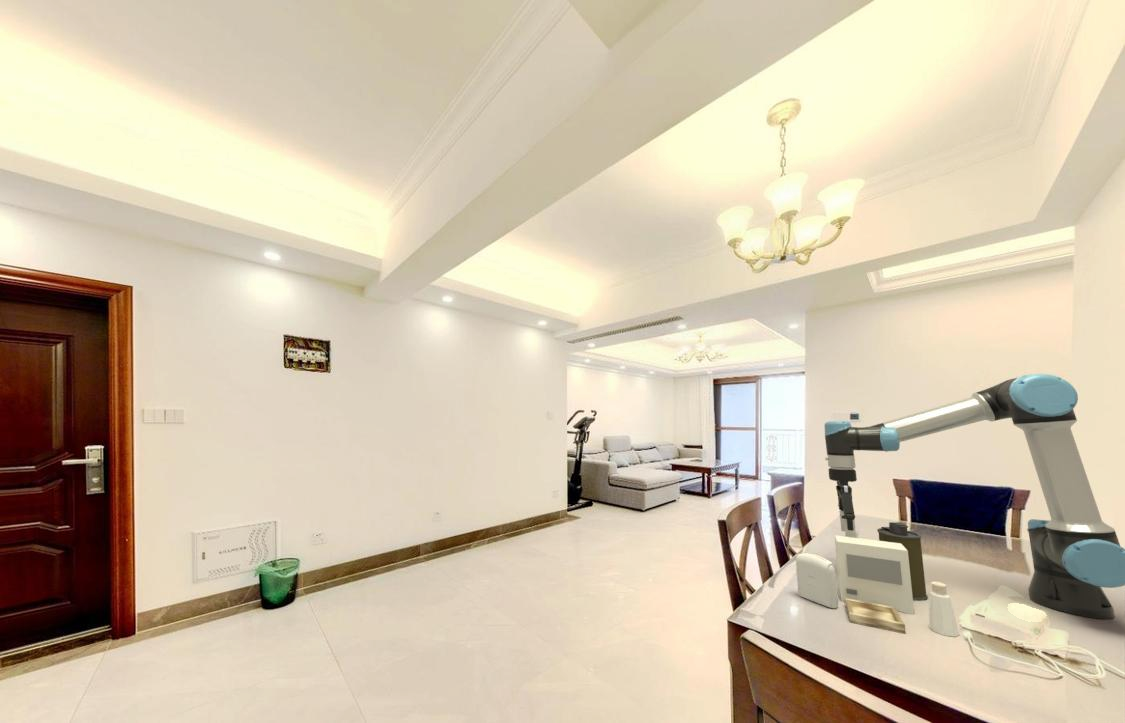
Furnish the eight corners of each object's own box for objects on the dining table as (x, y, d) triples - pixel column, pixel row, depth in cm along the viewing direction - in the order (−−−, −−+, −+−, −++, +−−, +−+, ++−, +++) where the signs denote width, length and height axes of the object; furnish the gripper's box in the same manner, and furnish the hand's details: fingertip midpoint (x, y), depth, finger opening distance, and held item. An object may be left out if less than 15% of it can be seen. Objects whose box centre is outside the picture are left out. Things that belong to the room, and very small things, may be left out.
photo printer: (795, 595, 119) (792, 550, 121) (805, 593, 121) (802, 549, 123) (831, 610, 110) (828, 561, 112) (841, 607, 112) (837, 559, 114)
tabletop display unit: (906, 602, 116) (900, 543, 118) (914, 615, 108) (908, 551, 110) (838, 590, 123) (834, 534, 126) (842, 601, 116) (837, 541, 118)
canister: (937, 601, 117) (929, 528, 120) (900, 600, 117) (893, 527, 120) (906, 586, 128) (900, 519, 131) (873, 585, 128) (867, 518, 131)
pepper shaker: (960, 639, 96) (954, 589, 97) (929, 631, 99) (923, 583, 101) (958, 631, 100) (953, 583, 101) (929, 623, 103) (924, 577, 105)
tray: (895, 615, 108) (894, 607, 108) (905, 633, 98) (904, 624, 98) (845, 605, 113) (844, 598, 113) (850, 622, 103) (849, 613, 104)
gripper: (825, 464, 148) (831, 526, 144) (831, 471, 126) (838, 543, 123) (850, 465, 144) (857, 529, 141) (861, 472, 122) (869, 547, 119)
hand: (848, 536), depth 132 cm, fingers open, 13 cm apart
